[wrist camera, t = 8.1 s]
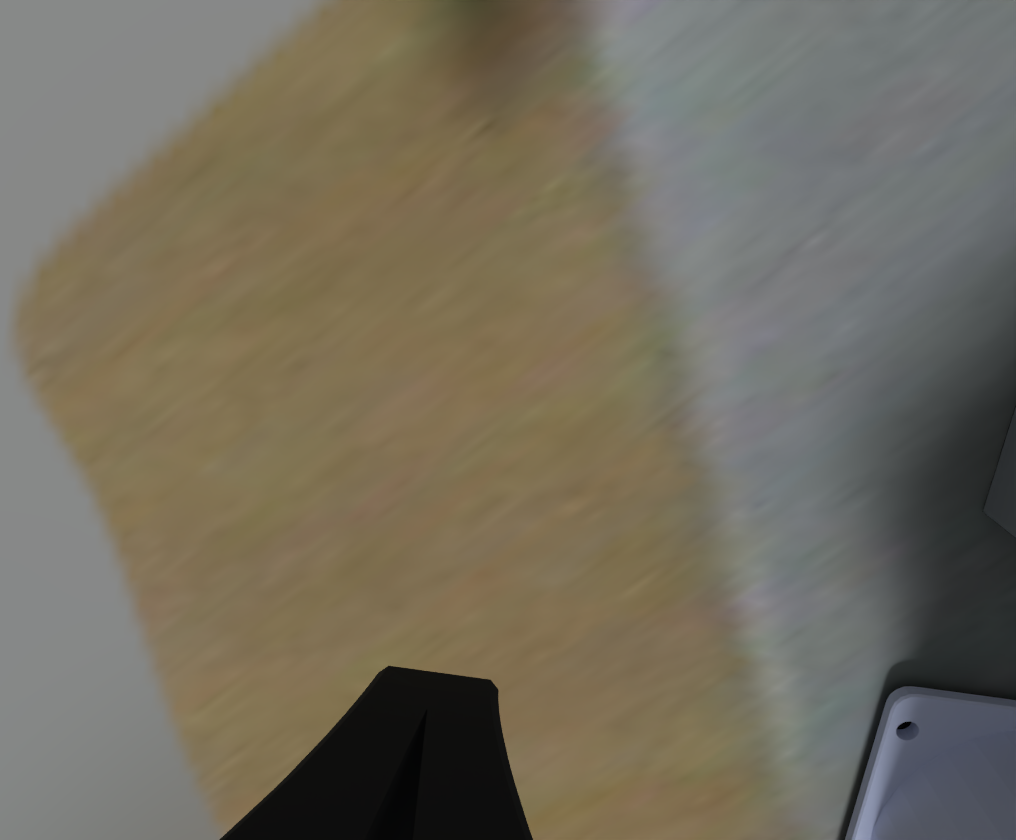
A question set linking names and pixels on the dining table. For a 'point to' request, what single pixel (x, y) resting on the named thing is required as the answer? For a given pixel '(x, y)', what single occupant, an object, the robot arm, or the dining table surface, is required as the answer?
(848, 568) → the dining table surface
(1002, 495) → the tunnel deck
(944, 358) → the dining table surface
